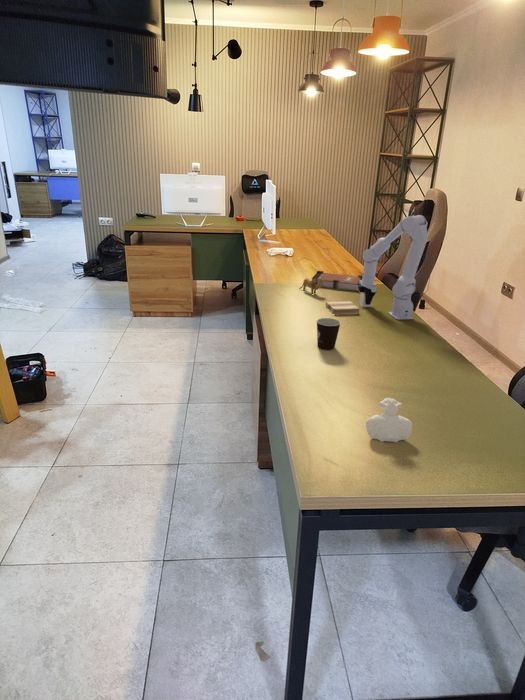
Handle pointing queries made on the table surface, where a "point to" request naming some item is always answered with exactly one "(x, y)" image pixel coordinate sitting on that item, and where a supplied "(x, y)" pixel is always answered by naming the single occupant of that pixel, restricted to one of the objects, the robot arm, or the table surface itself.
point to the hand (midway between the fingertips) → (365, 302)
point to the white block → (363, 300)
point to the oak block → (342, 307)
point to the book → (339, 281)
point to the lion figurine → (312, 284)
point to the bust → (389, 423)
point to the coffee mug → (327, 333)
